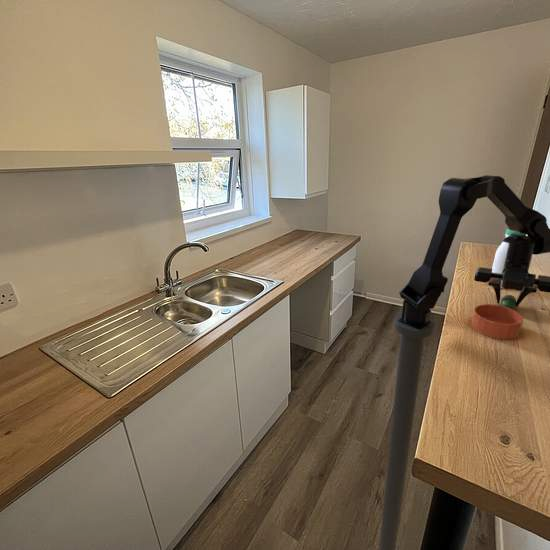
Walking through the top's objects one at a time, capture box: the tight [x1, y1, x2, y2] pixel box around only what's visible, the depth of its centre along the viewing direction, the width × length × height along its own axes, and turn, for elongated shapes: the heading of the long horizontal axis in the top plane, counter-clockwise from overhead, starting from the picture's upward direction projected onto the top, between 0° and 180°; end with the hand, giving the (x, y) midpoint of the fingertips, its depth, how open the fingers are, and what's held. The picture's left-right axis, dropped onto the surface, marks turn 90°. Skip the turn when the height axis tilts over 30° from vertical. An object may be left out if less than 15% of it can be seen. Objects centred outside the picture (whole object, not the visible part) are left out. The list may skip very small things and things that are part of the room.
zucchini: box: [500, 294, 517, 310], centre depth 91 cm, size 8×4×4 cm, turn 142°
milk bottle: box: [491, 228, 524, 290], centre depth 102 cm, size 8×8×20 cm
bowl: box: [471, 303, 524, 340], centre depth 82 cm, size 11×11×4 cm
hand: (507, 304), depth 92 cm, fingers open, 4 cm apart
